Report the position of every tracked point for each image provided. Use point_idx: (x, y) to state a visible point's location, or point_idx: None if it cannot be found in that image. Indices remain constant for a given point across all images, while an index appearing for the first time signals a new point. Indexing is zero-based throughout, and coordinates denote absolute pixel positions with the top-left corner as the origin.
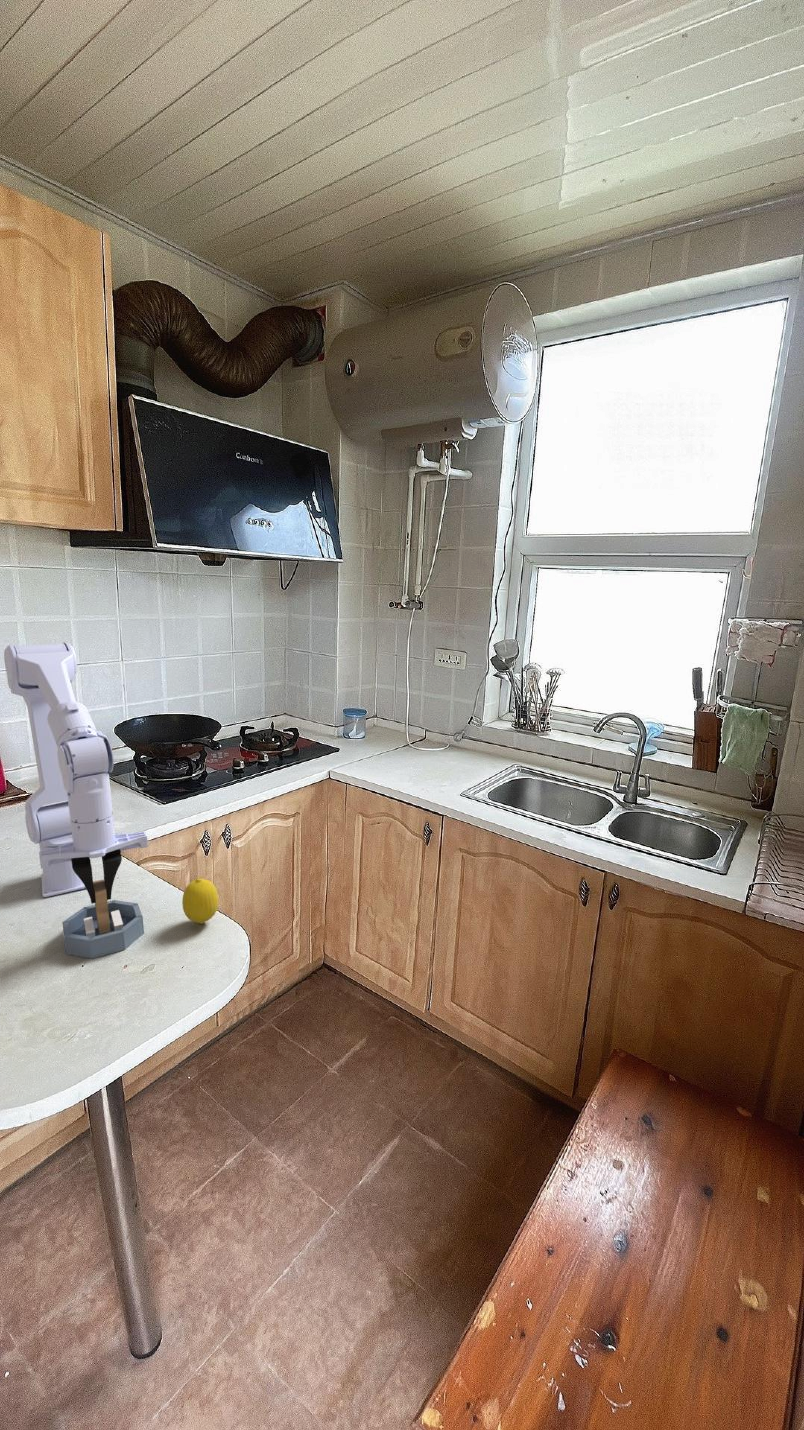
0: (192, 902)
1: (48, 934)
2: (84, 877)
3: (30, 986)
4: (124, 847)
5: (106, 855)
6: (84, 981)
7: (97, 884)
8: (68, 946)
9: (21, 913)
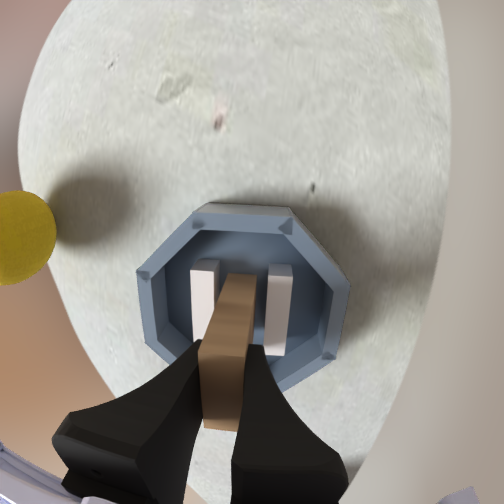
0: (10, 208)
1: (349, 365)
2: (283, 425)
3: (421, 176)
4: (48, 485)
5: (134, 499)
6: (319, 115)
7: (227, 409)
8: (337, 266)
9: (363, 440)
